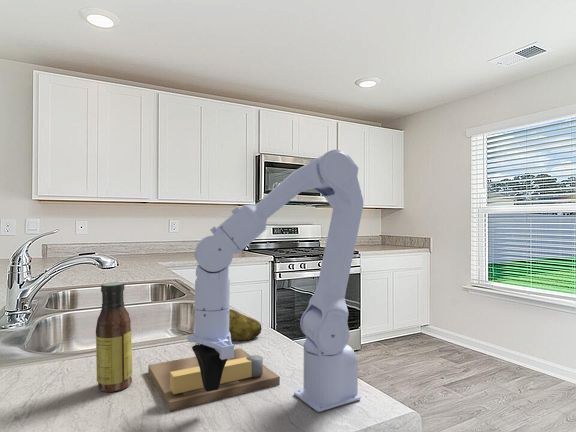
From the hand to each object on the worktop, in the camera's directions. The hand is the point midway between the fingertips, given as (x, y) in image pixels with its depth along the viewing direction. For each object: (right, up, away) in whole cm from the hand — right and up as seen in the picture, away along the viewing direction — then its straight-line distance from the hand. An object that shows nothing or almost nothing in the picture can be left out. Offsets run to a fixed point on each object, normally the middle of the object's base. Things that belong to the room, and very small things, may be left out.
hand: (211, 389), depth 63 cm
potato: (-1, -5, +39) cm, 40 cm away
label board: (-3, -4, +13) cm, 14 cm away
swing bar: (0, -2, +8) cm, 8 cm away
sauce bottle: (-21, -4, +9) cm, 23 cm away
